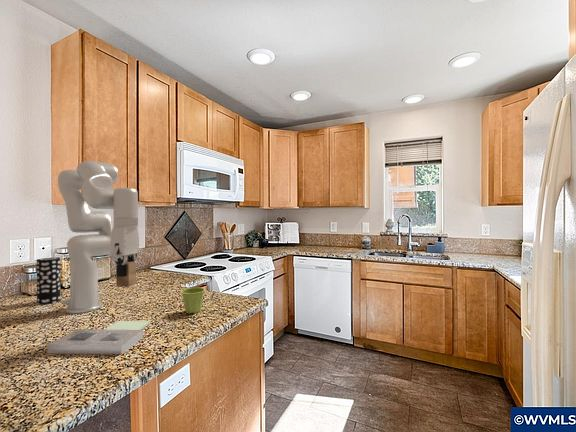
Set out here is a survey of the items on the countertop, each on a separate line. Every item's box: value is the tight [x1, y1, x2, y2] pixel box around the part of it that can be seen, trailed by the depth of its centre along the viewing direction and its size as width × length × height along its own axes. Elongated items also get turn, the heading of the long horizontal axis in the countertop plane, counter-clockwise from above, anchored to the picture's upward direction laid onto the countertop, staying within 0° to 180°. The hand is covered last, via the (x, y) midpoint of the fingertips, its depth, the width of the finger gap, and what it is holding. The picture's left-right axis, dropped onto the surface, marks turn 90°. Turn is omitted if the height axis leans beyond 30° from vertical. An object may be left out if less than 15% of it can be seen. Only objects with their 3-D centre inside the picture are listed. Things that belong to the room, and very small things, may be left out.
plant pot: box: [180, 287, 206, 314], centre depth 117 cm, size 9×9×9 cm
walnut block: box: [115, 261, 137, 288], centre depth 100 cm, size 4×4×8 cm
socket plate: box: [47, 328, 144, 355], centre depth 87 cm, size 22×11×2 cm, turn 88°
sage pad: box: [103, 320, 151, 330], centre depth 100 cm, size 12×9×1 cm
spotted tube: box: [36, 257, 61, 306], centre depth 131 cm, size 8×8×20 cm
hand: (126, 274), depth 100 cm, fingers closed on walnut block, 4 cm apart
